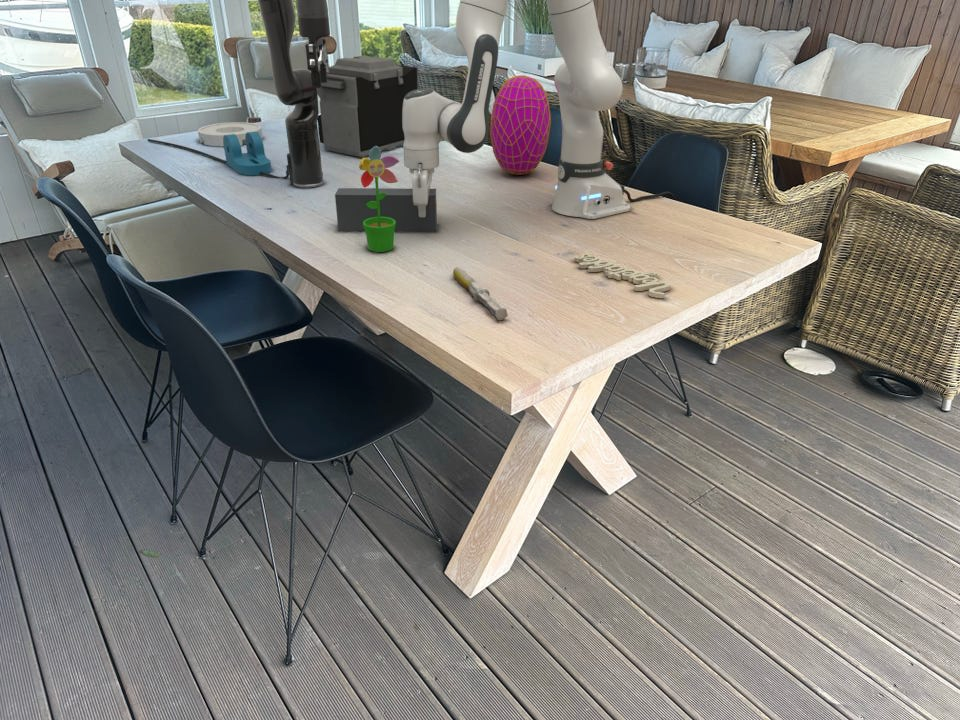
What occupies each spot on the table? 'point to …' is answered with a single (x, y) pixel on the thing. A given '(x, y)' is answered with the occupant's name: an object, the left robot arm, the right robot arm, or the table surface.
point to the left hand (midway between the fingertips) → (320, 85)
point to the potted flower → (378, 227)
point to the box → (384, 209)
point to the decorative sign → (625, 274)
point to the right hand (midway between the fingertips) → (423, 211)
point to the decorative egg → (520, 125)
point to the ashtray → (226, 132)
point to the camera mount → (246, 154)
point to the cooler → (364, 104)
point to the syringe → (479, 293)
